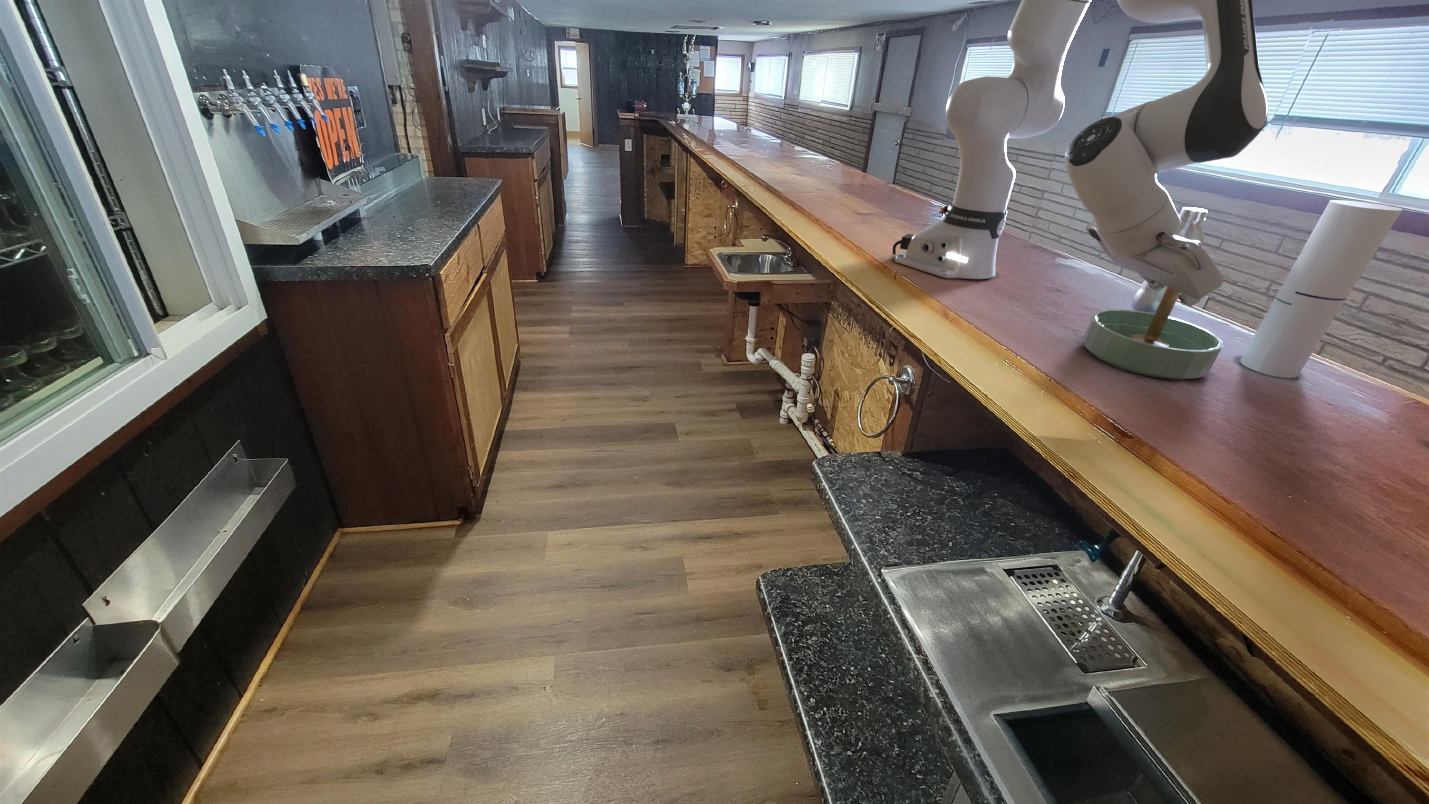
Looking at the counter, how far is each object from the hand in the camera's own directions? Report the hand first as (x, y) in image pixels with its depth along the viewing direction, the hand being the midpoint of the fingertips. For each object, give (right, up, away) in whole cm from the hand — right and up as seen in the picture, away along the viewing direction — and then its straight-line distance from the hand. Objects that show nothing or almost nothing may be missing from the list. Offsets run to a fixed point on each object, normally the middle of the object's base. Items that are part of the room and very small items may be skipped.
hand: (1175, 294), depth 86 cm
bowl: (-1, -9, +5) cm, 11 cm away
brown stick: (-1, -9, +5) cm, 10 cm away
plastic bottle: (+13, 0, +23) cm, 26 cm away
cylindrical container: (+18, -11, +4) cm, 22 cm away
